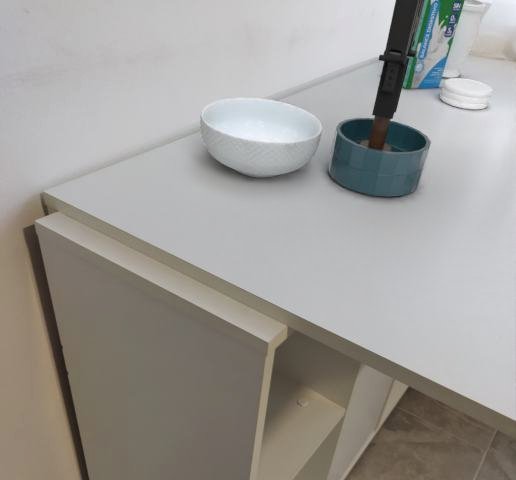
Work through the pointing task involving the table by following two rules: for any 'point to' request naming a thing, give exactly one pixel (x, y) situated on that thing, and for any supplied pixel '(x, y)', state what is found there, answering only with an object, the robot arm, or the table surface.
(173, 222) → the table surface
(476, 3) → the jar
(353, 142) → the bowl
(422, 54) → the milk carton
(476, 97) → the coaster
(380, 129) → the pestle
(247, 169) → the cereal bowl
